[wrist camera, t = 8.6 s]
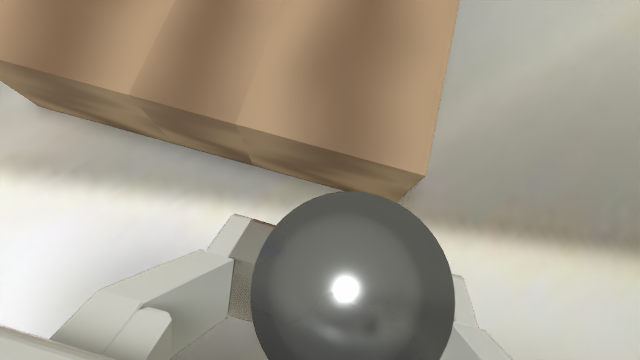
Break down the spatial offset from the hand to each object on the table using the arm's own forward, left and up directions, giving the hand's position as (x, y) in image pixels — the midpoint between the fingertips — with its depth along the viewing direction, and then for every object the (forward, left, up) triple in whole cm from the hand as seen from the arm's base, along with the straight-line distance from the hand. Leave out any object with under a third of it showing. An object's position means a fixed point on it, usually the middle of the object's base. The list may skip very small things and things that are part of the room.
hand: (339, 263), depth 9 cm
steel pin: (0, +1, -6) cm, 6 cm away
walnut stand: (+7, -14, -8) cm, 18 cm away
